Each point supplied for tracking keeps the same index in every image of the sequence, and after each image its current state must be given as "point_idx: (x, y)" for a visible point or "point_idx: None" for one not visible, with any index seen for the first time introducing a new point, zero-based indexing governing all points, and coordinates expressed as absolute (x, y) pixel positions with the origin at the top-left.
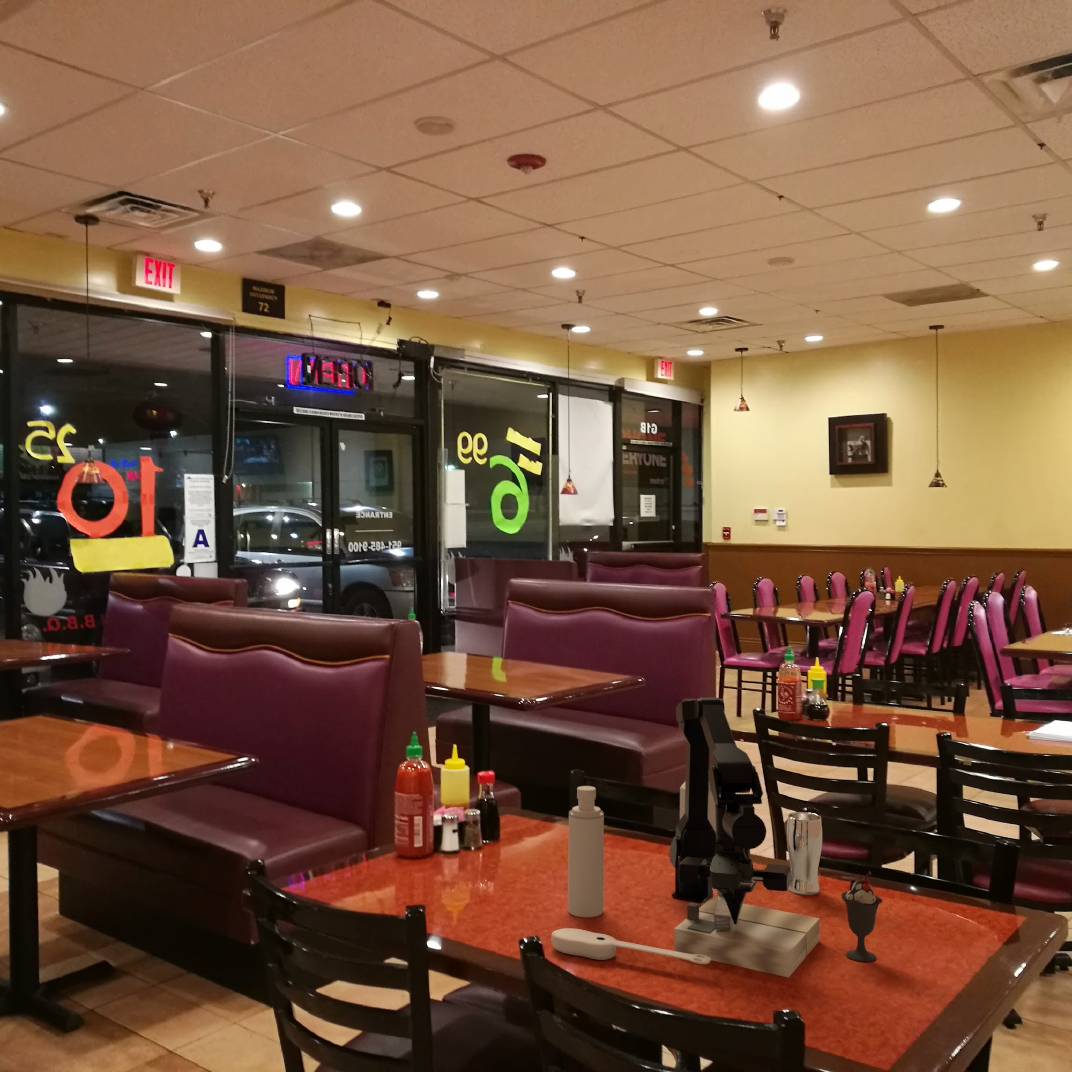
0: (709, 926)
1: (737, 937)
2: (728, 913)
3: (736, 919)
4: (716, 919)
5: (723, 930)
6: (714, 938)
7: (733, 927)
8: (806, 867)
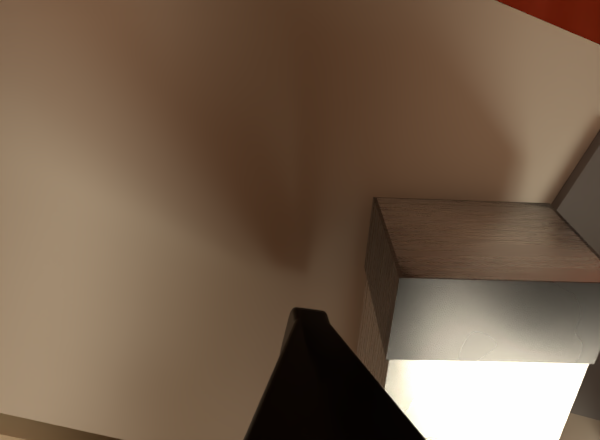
0: None
1: (279, 71)
2: None
3: (293, 334)
4: (575, 264)
5: None
6: (554, 29)
7: None
8: None
